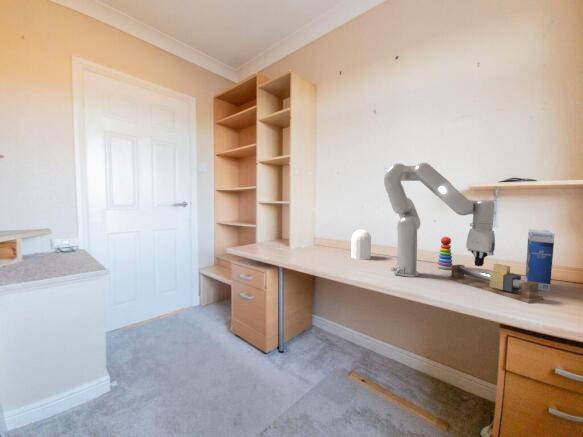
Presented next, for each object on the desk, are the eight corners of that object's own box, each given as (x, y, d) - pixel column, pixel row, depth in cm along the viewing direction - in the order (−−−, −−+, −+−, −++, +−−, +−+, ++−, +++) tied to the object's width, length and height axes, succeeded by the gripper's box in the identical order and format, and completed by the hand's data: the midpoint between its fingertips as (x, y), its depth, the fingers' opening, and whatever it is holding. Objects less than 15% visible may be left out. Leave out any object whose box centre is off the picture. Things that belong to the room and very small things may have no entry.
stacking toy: (455, 270, 143) (457, 237, 141) (441, 270, 143) (443, 237, 142) (447, 266, 151) (448, 235, 149) (434, 266, 151) (435, 235, 149)
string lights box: (524, 281, 123) (527, 229, 121) (546, 284, 118) (550, 230, 116) (527, 288, 113) (530, 231, 111) (551, 292, 108) (555, 233, 106)
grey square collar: (502, 289, 105) (503, 275, 105) (511, 287, 108) (512, 273, 107) (511, 291, 103) (512, 277, 102) (520, 289, 105) (521, 275, 105)
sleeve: (489, 286, 110) (490, 264, 109) (498, 284, 112) (499, 263, 112) (502, 290, 105) (503, 267, 105) (511, 288, 108) (513, 265, 107)
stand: (447, 278, 127) (447, 265, 126) (460, 276, 130) (460, 263, 130) (528, 303, 96) (529, 285, 96) (542, 299, 100) (543, 282, 99)
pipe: (454, 272, 126) (454, 265, 126) (459, 272, 128) (459, 264, 127) (528, 292, 98) (529, 283, 98) (534, 291, 100) (534, 282, 100)
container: (374, 257, 175) (374, 229, 174) (365, 260, 166) (365, 230, 164) (356, 254, 185) (357, 227, 183) (347, 257, 175) (347, 229, 174)
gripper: (460, 225, 121) (457, 262, 122) (495, 229, 107) (491, 270, 108) (470, 224, 123) (467, 261, 125) (506, 228, 110) (502, 269, 111)
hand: (478, 265), depth 117 cm, fingers closed
